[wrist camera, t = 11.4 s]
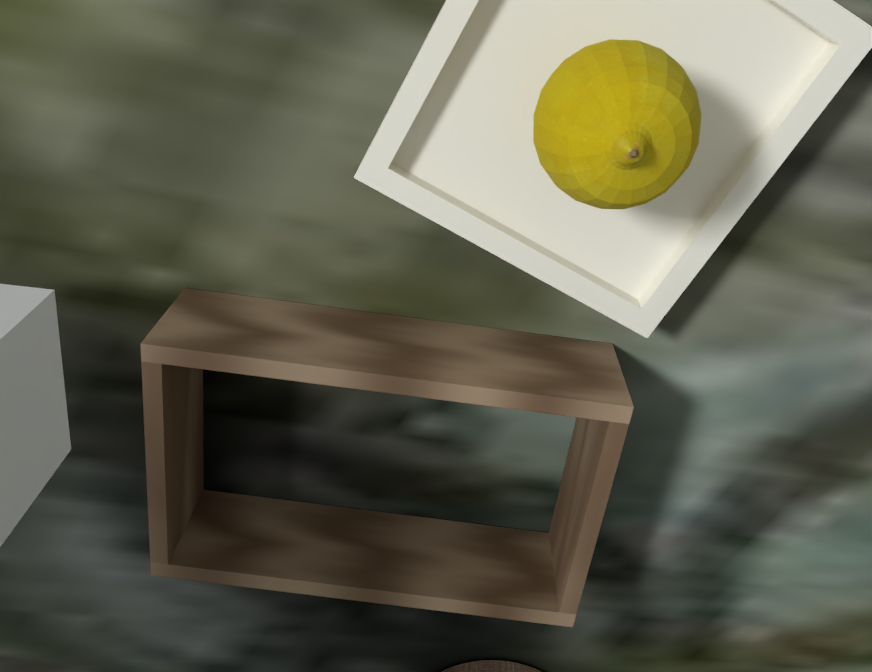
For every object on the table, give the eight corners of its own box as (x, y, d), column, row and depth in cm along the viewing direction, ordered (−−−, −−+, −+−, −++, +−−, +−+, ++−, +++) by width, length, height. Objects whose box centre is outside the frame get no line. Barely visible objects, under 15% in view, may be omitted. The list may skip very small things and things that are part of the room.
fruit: (605, 201, 33) (642, 277, 26) (497, 119, 32) (504, 175, 24) (703, 88, 31) (773, 136, 24) (591, -6, 29) (629, 16, 22)
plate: (360, 163, 34) (353, 177, 32) (542, -185, 28) (547, -194, 26) (637, 316, 36) (647, 338, 34) (855, 26, 31) (882, 33, 29)
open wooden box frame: (188, 499, 42) (150, 575, 37) (184, 287, 37) (140, 343, 32) (560, 546, 43) (572, 627, 38) (612, 343, 37) (634, 407, 32)
